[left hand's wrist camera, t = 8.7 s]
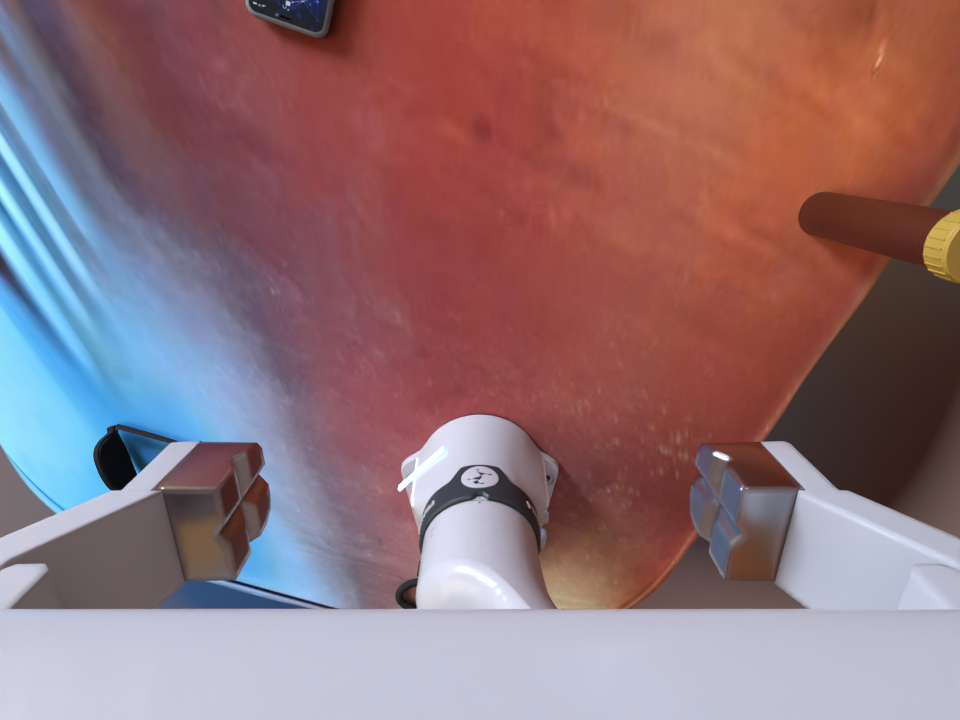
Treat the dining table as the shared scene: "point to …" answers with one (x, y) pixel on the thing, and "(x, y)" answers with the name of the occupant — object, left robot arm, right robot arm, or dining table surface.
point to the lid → (944, 248)
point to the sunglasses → (118, 457)
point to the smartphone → (295, 14)
